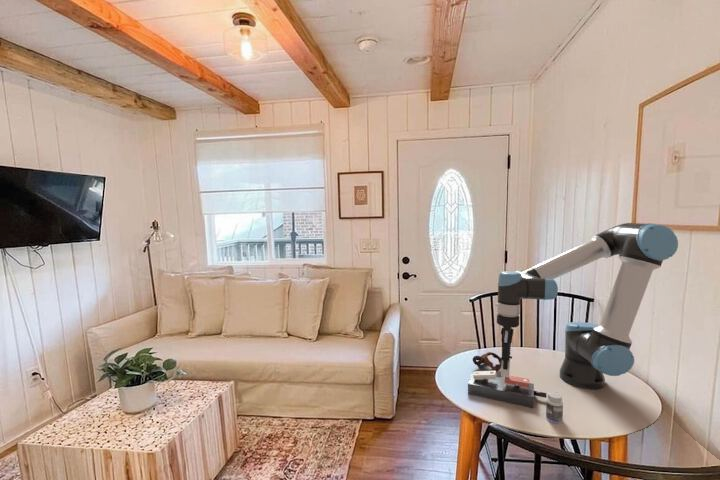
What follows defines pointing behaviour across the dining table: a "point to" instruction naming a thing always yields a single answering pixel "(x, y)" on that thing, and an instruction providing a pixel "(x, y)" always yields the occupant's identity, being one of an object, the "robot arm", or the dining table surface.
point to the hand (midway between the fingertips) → (505, 376)
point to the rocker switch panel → (503, 391)
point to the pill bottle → (554, 407)
